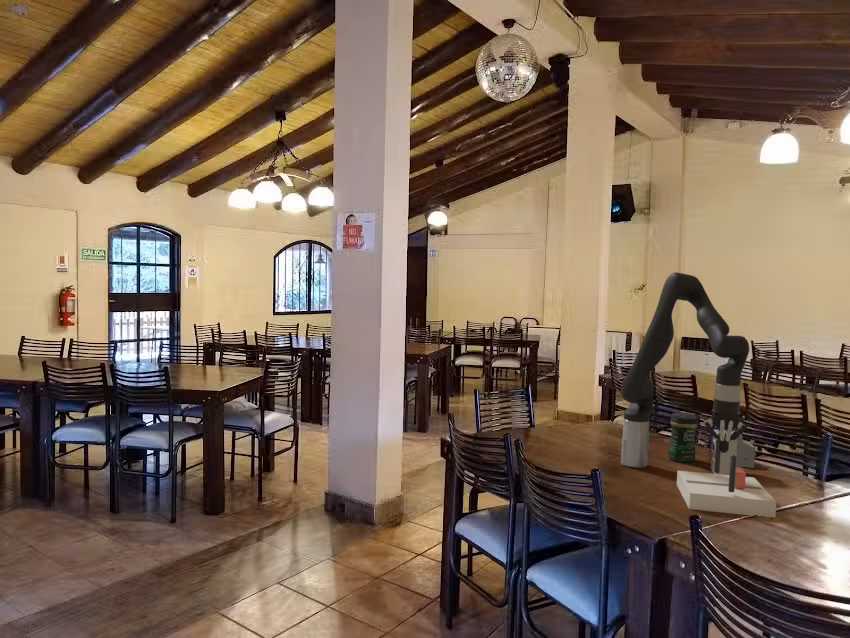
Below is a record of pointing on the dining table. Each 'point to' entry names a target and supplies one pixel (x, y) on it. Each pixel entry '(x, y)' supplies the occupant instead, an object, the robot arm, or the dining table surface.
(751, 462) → the circuit breaker
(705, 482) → the board
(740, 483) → the block
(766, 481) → the dining table surface
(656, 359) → the robot arm
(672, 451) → the coffee jar
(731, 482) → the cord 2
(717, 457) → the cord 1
